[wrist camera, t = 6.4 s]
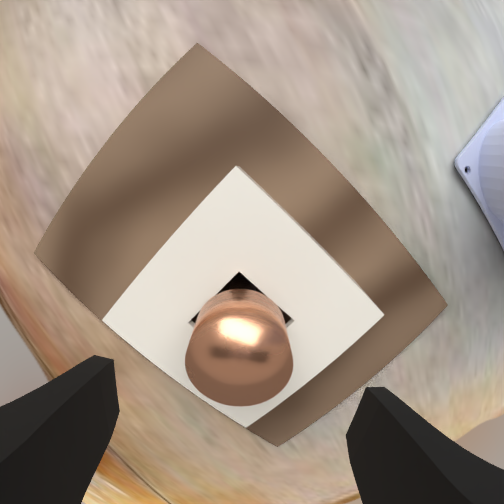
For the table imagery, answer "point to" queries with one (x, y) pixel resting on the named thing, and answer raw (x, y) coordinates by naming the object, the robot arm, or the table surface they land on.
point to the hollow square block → (256, 271)
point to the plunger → (239, 347)
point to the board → (200, 186)
